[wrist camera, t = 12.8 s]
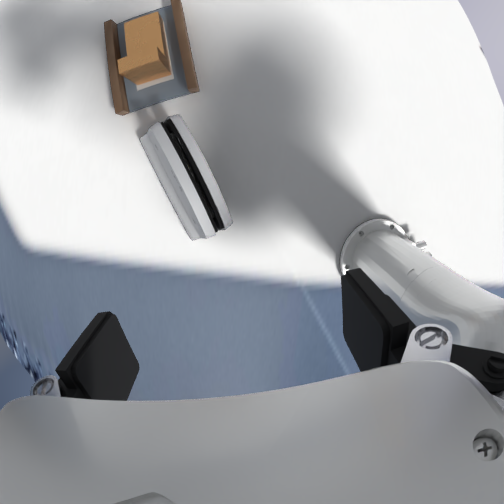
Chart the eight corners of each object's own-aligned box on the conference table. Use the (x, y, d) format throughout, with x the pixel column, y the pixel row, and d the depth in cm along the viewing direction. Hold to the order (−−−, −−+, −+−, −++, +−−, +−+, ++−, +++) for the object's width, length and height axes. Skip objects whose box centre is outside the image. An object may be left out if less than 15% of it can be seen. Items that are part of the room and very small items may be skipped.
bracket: (171, 74, 32) (158, 59, 25) (137, 85, 32) (119, 73, 25) (162, 19, 28) (150, -2, 22) (130, 30, 28) (113, 12, 22)
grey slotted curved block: (139, 138, 35) (137, 118, 25) (169, 123, 36) (177, 100, 27) (192, 241, 40) (206, 254, 31) (220, 225, 41) (242, 233, 32)
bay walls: (181, 3, 28) (178, -5, 25) (199, 91, 33) (197, 87, 31) (110, 28, 28) (103, 22, 25) (122, 115, 33) (115, 113, 31)
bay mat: (172, 5, 28) (172, 4, 27) (190, 93, 33) (189, 93, 33) (117, 24, 28) (116, 23, 27) (130, 112, 33) (129, 112, 33)
